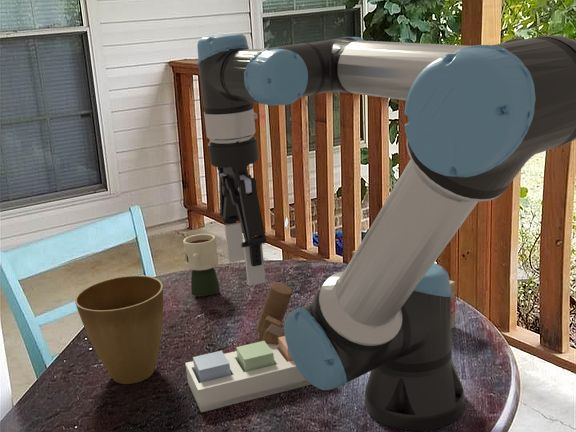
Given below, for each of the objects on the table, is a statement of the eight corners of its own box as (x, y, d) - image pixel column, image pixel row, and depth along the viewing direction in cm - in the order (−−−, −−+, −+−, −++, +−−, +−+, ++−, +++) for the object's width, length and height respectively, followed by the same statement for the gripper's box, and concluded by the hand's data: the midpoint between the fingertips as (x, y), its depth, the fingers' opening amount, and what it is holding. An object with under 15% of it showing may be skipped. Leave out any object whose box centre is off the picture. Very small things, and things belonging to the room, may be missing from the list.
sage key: (275, 371, 123) (273, 352, 122) (246, 378, 121) (244, 359, 120) (266, 359, 127) (264, 340, 126) (238, 365, 126) (236, 347, 125)
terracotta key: (317, 361, 125) (315, 342, 124) (289, 368, 123) (287, 349, 122) (306, 349, 129) (305, 331, 128) (279, 355, 128) (278, 337, 127)
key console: (329, 379, 124) (327, 358, 122) (201, 412, 117) (198, 390, 116) (308, 354, 133) (306, 334, 132) (188, 383, 126) (185, 362, 125)
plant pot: (109, 354, 140) (96, 275, 135) (184, 354, 137) (173, 274, 132) (75, 396, 125) (59, 309, 121) (158, 397, 123) (145, 309, 118)
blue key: (231, 382, 120) (229, 363, 119) (201, 389, 119) (199, 370, 118) (224, 369, 125) (221, 350, 124) (195, 376, 124) (192, 357, 123)
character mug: (195, 284, 170) (189, 231, 166) (226, 283, 169) (220, 230, 165) (184, 304, 160) (176, 247, 156) (216, 303, 159) (209, 246, 155)
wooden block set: (278, 376, 131) (295, 331, 127) (234, 356, 133) (249, 310, 128) (307, 328, 147) (323, 286, 143) (268, 310, 149) (283, 268, 144)
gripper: (279, 146, 103) (292, 291, 110) (235, 124, 125) (248, 246, 131) (227, 154, 101) (243, 301, 107) (192, 130, 123) (207, 254, 129)
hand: (246, 271), depth 119 cm, fingers open, 11 cm apart
